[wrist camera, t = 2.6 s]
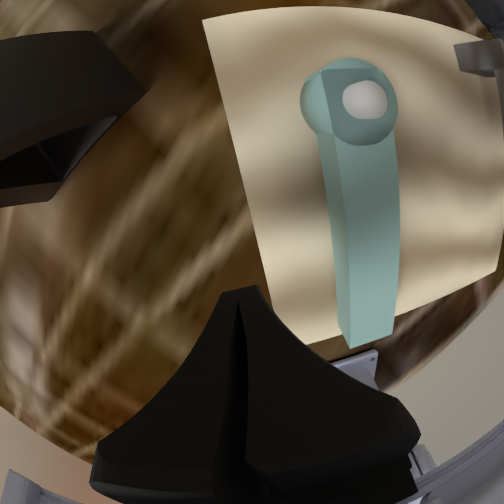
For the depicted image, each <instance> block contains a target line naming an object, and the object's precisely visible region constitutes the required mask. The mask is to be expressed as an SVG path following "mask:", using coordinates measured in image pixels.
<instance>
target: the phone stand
mask: <svg viewBox="0 0 504 504" xmlns="http://www.w3.org/2000/svg"><path fill="white" fill-rule="evenodd" d="M145 93H146V92H145V90H144V89H143V88H142V87H141V86H140V85H139V83H138V82H137V81H136V80H135V79H134V78H133V76H132V75H131V74H130V73H129V72H128V71H127V69H126V68H125V67H124V66H123V65H122V64H121V63H120V61H119V60H118V59H117V58H116V57H115V56H114V55H113V53H112V52H111V51H110V50H109V49H108V48H107V47H106V45H105V44H104V43H103V42H102V41H101V40H100V39H99V38H98V36H97V35H96V34H95V33H94V32H93V31H63V32H50V33H40V34H32V35H25V36H19V37H14V38H8V39H4V40H0V208H2V207H9V206H15V205H22V204H30V203H38V202H46V201H49V200H50V199H51V198H52V197H53V196H54V195H55V193H56V192H57V191H58V189H59V188H60V187H61V185H62V184H63V183H64V181H65V180H66V179H67V177H68V176H69V175H70V173H71V172H72V171H73V170H74V168H75V167H76V166H77V165H78V163H79V162H80V161H81V160H82V159H83V157H84V156H85V155H86V154H87V153H88V152H89V149H90V148H91V147H92V146H94V145H95V144H96V142H97V141H98V140H99V139H100V138H101V137H102V136H103V135H104V134H105V133H106V132H107V131H108V130H109V129H110V128H111V126H112V125H113V124H114V123H115V122H116V121H117V120H118V119H119V118H120V117H121V116H123V115H124V114H125V113H126V112H127V111H128V110H129V109H130V108H131V107H132V106H133V105H134V104H135V103H136V102H137V101H139V100H140V99H141V98H142V97H143V96H144V95H145Z"/></svg>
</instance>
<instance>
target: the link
mask: <svg viewBox="0 0 504 504" xmlns="http://www.w3.org/2000/svg"><path fill="white" fill-rule="evenodd" d="M304 82H305V83H304V85H303V87H302V90H301V93H300V108H301V112H302V115H303V117H304V119H305V121H306V123H307V124H308V126H309V127H310V128H311V129H312V130H313V131H314V132H315V133H316V137H317V142H318V147H319V153H320V159H321V165H322V171H323V177H324V183H325V190H326V197H327V204H328V212H329V219H330V228H331V237H332V246H333V257H334V268H335V281H336V295H337V314H338V326H339V328H340V330H341V332H342V334H343V336H344V338H345V340H346V342H347V344H348V346H349V348H350V349H351V348H354V347H357V346H360V345H363V344H366V343H369V342H371V341H374V340H377V339H380V338H382V337H385V336H388V335H390V334H392V330H393V323H394V316H395V308H396V298H397V288H398V274H399V256H400V197H399V179H398V166H397V155H396V146H395V138H394V131H393V128H394V126H395V123H396V120H397V114H398V103H397V97H396V94H395V91H394V88H393V86H392V84H391V83H390V81H389V80H388V78H387V77H386V76H385V74H384V73H383V72H382V69H380V68H377V67H376V66H374V65H373V64H371V63H369V62H367V61H364V60H361V59H357V58H343V59H339V60H336V61H334V62H332V63H330V64H329V65H327V66H325V67H323V68H322V69H320V70H318V71H317V72H315V73H313V74H312V75H310V76H309V77H307V78H305V79H304Z"/></svg>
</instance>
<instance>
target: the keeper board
mask: <svg viewBox="0 0 504 504" xmlns="http://www.w3.org/2000/svg"><path fill="white" fill-rule="evenodd" d="M202 22H203V26H204V30H205V34H206V38H207V42H208V45H209V49H210V53H211V57H212V61H213V65H214V69H215V73H216V76H217V80H218V84H219V88H220V92H221V96H222V100H223V104H224V108H225V112H226V116H227V120H228V124H229V128H230V132H231V136H232V140H233V144H234V148H235V152H236V156H237V160H238V164H239V168H240V172H241V176H242V180H243V184H244V188H245V192H246V197H247V201H248V205H249V209H250V213H251V217H252V221H253V225H254V229H255V234H256V238H257V242H258V246H259V250H260V254H261V259H262V263H263V267H264V271H265V275H266V280H267V284H268V288H269V292H270V296H271V301H272V305H273V309H274V312H275V314H276V315H277V316H278V317H279V318H280V320H281V321H282V322H283V323H284V324H285V325H286V326H287V327H288V328H289V329H290V330H291V332H292V333H293V334H294V335H296V336H297V337H298V338H299V339H300V340H301V341H302V342H303V343H304V344H305V345H306V344H310V343H314V342H317V341H321V340H325V339H328V338H331V337H335V336H338V335H341V334H342V332H341V330H340V328H339V326H338V314H337V295H336V281H335V268H334V257H333V246H332V237H331V228H330V219H329V212H328V204H327V197H326V190H325V183H324V177H323V171H322V165H321V159H320V153H319V147H318V142H317V137H316V133H315V132H314V131H313V130H312V129H311V128H310V127H309V126H308V124H307V123H306V121H305V119H304V117H303V115H302V112H301V108H300V93H301V90H302V87H303V85H304V83H305V82H304V79H305V78H307V77H309V76H310V75H312V74H313V73H315V72H317V71H318V70H320V69H322V68H323V67H325V66H327V65H329V64H330V63H332V62H334V61H336V60H339V59H343V58H357V59H361V60H364V61H367V62H369V63H371V64H373V65H374V66H376V67H377V68H380V69H382V72H383V73H384V74H385V76H386V77H387V78H388V80H389V81H390V83H391V84H392V86H393V88H394V91H395V94H396V97H397V103H398V114H397V120H396V123H395V126H394V128H393V131H394V138H395V146H396V155H397V166H398V179H399V197H400V256H399V274H398V288H397V298H396V308H395V316H397V315H400V314H402V313H405V312H407V311H410V310H413V309H415V308H417V307H420V306H422V305H425V304H427V303H430V302H432V301H434V300H436V299H439V298H441V297H443V296H446V295H448V294H450V293H452V292H454V291H456V290H459V289H461V288H463V287H465V286H467V285H469V284H471V283H473V282H475V281H477V280H479V279H481V278H483V277H485V276H487V275H488V274H490V273H492V272H494V271H496V267H497V263H498V258H499V253H500V248H501V242H502V237H503V230H504V41H503V40H501V39H489V40H483V39H480V38H478V37H475V36H473V35H470V34H468V33H465V32H462V31H459V30H457V29H454V28H451V27H447V26H444V25H441V24H438V23H434V22H430V21H427V20H423V19H419V18H414V17H410V16H405V15H400V14H395V13H389V12H383V11H376V10H368V9H358V8H346V7H322V6H309V7H284V8H271V9H262V10H254V11H247V12H240V13H234V14H228V15H223V16H218V17H214V18H209V19H205V20H202Z"/></svg>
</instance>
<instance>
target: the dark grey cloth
mask: <svg viewBox="0 0 504 504" xmlns="http://www.w3.org/2000/svg"><path fill="white" fill-rule="evenodd" d="M465 1H466V2H467V3H468V4H469V6H470V7H471V8H472V10H473V11H474V12H475V14H476V15H477V17H478V18H479V19H480V21H481V22H482V23H483V24H484V25H486V27H487V28H488V30H489V31H490V32H492V35H493V36H494V38H495V39H501V40H503V41H504V0H465Z"/></svg>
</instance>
